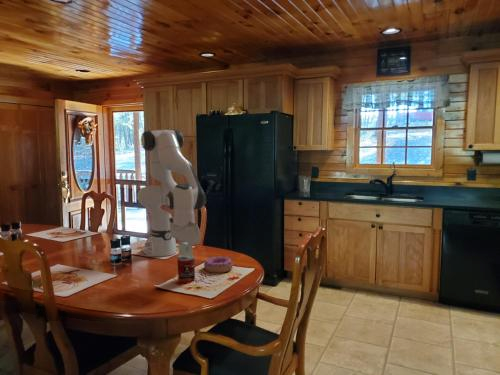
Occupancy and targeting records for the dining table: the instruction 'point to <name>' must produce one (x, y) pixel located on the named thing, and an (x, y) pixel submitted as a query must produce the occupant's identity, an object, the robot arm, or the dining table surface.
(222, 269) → the donut
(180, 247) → the sage block
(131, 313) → the dining table surface
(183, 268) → the canned food
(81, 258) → the dining table surface
